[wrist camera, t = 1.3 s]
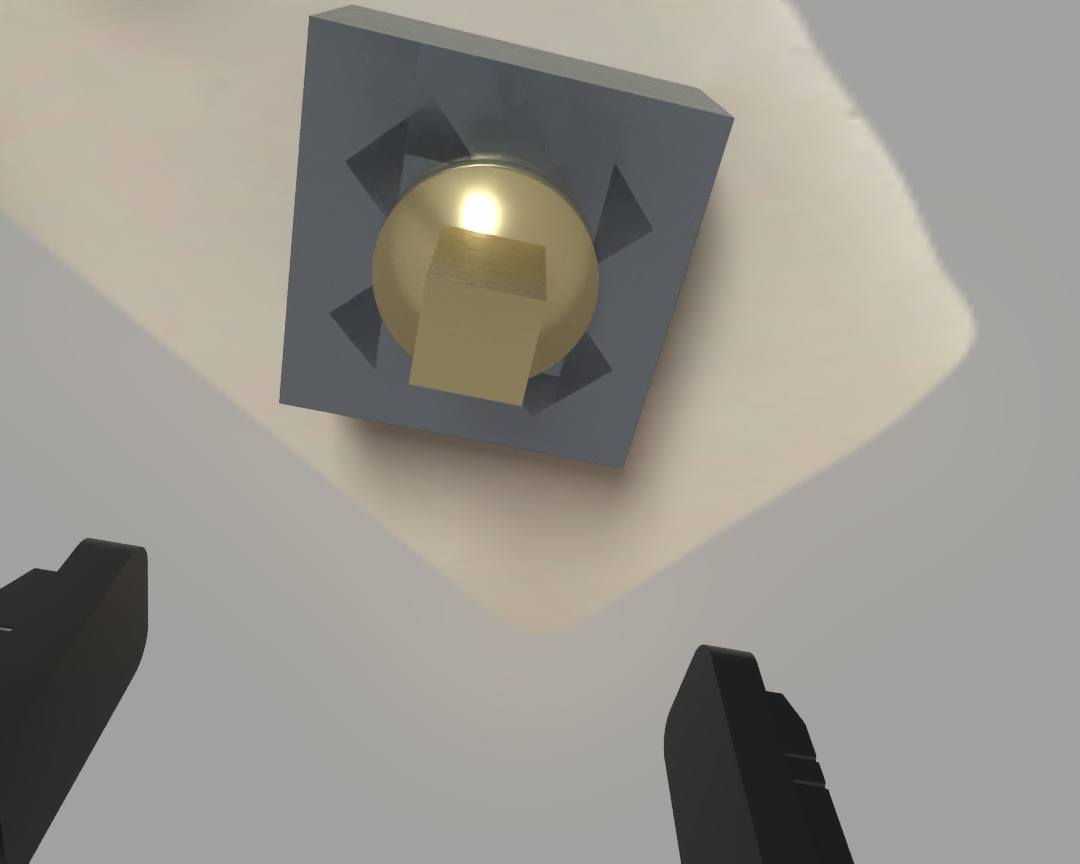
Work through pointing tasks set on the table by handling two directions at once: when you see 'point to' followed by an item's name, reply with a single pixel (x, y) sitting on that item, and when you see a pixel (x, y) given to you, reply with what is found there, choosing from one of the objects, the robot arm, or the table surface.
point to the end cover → (485, 278)
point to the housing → (508, 136)
